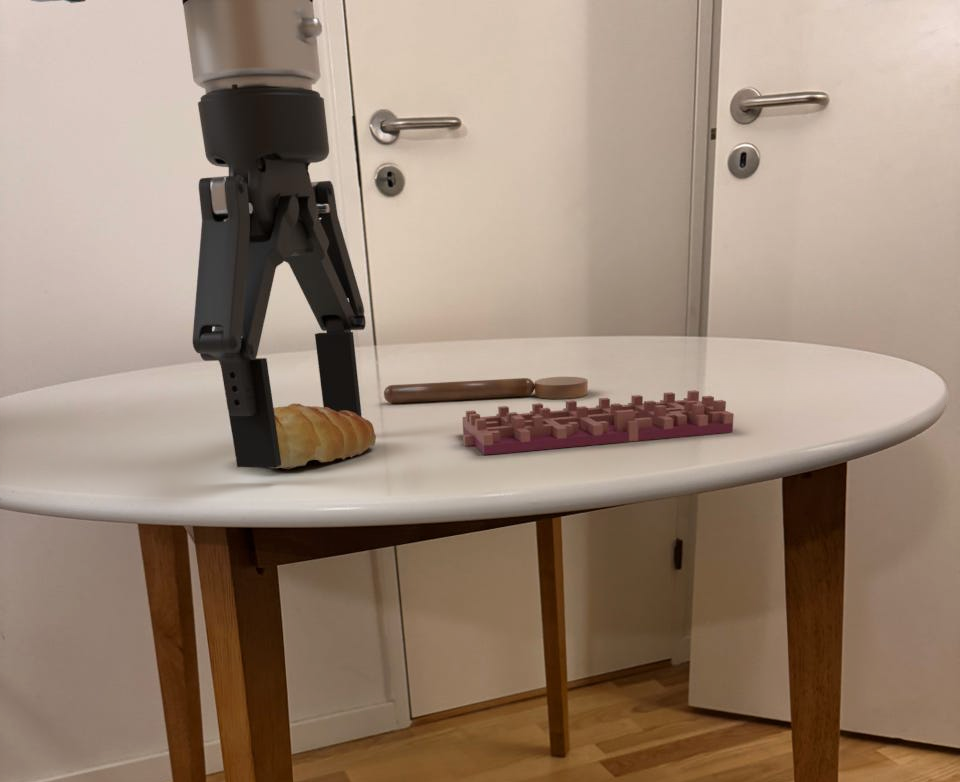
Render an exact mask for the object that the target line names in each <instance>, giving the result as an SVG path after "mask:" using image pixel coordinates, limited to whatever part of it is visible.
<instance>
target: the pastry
mask: <svg viewBox="0 0 960 782" xmlns="http://www.w3.org/2000/svg"><path fill="white" fill-rule="evenodd" d="M273 408H274V415H275V422H276V429H277V436H278V443H279V451H280V458H281V465H280V466H278V467H276V468H275V469H279V468H281V469H285V470H291V469H294V468H296V467H305V466H306V465H307V463H308V462H310V461H314V460H316V461H319V463H328V462H333V461H335V460H336V459H342V460H343V461H344V460H345V459H346V458H348V457H350V458H353V457H354V456H359V455H361V454H362V453H364V452H365V451H367V450H368V449H369V448H370V447H372V446H375V445H376V438H377V437H376V436H377V435H376V433H375V429H374V425H373V423H372V422H371V421H370V420H369V419H366V418H365V417H363V416H362V417H360V416H358V415H357V414H356V413H354V412H351V411H339V412H336V411H334V410H331V409H330V408H328V407H323V406H322V407H321V406H317V405H313V406H310V405H307V406H306V405H303V404H301V403H291V404H288V405H287V406H278V407H273Z"/></svg>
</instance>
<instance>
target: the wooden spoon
mask: <svg viewBox="0 0 960 782" xmlns="http://www.w3.org/2000/svg"><path fill="white" fill-rule="evenodd" d="M532 394H534V396H535V397H536V398H540V399H547V400H548V399H549V400H566V399H568V400H569V399H577V398H581V397H585V396H587V395H588V394H589V381H588V379H587V378H585V377H578V376H552V377H543V378H538V379H536V380H535V381H533V380H532V379H531V378H529V377H520V378H517V377H516V378H500V379H499V378H497V379H481V380H480V379H478V380H462V381H459V380H458V381H442V382H422V383H421V382H420V383H406V384H405V383H404V384H403V383H402V384H390V385H388V386H386V387H385V388H384V391H383V397H384V400H385V401H386V402H387V403H389V404H407V403H408V404H409V403H426V402H444V401H445V402H446V401H461V400H462V401H464V400H466V401H467V400H481V399H482V400H483V399H486V400H487V399H504V398H521V397H522V398H524V397H529V396H531V395H532Z"/></svg>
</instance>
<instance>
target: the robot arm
mask: <svg viewBox="0 0 960 782" xmlns="http://www.w3.org/2000/svg"><path fill="white" fill-rule="evenodd" d="M30 1H32V2H38V3H47V2H57V1H61V0H30ZM64 1H65V2H69V3H70V4H75V3H76V4H77V3H84V2H86V1H87V0H64ZM181 3H182V6H183V14H184V21H185V27H186V35H187V42H188V51H189V56H190V66H191V72H192V79H193V82H194V83H195V84H196V86H199V87H201V88H202V89H204V91H205V94H203V95H202V96H201V97H200V101H198V102H197V107H198V115H199V120H200V121H199V122H200V127H201V135H202V141H203V146H204V153H205V158H206V160H207V161H208V162H209V163H210V164H211V165H213V166H215V167H220V168H228V175H226V176H225V175H223V176H212V177H203V178H202V177H201V178H200V179H199V181H198V196H199V205H200V214H201V228H200V241H199V253H198V267H197V279H196V290H195V291H196V292H195V304H194V317H193V326H192V347H193V349H194V352H196V353H197V354H200V358H201V359H202V360H203V361H204V362H216V361H218V363H219V365H220V369H221V375H222V382H223V387H224V395H225V398H226V399H225V401H226V407H227V411H228V417H229V423H230V429H231V434H232V435H231V437H232V443H233V449H234V454H235V461H236V467H237V468H266V469H267V468H269V469H277V468H276V467H278V466H280V465H281V458H280V451H279V443H278V436H277V429H276V422H275V415H274V408H275V407H274V402H273V395H272V394H273V393H272V389H271V381H270V373H269V367H268V366H269V365H268V360H267V357H260V358H259V357H258V352H259V349H260V348H259V347H260V343H261V339H262V334H263V329H264V325H265V321H266V315H267V310H268V307H269V302H270V297H271V292H272V288H273V284H274V278H275V274H276V269H277V267H278V266H280V265H282V264H283V263H284V262H285V263H287V264H288V265H289V267H290V270H291V272H292V273H293V276H294V277H295V279H296V281H297V283H298V286H299V288H300V289H301V291H302V294H303V295H304V298H305V300H306V301H307V304H308V306H309V307H310V310H311V311H312V313H313V314H312V315H314V318H315V319H316V321H317V324H318V326H319V328H320V330H322V332H317V333H314V339H315V346H316V347H315V348H316V356H317V365H318V373H319V381H320V389H321V398H322V405H323V406H322V407H328V408H330V409H331V410H334V411H336V412H339V411H351V412H354V413H356V414H357V415H358V416H360V417H363V416H362V406H361V395H360V387H359V377H358V368H357V357H356V348H355V347H356V346H355V338H354V332H353V331H364V330H365V328H366V316H365V307H364V303H363V299H362V296H361V292H360V289H359V286H358V285H359V284H358V282H357V279H356V275H355V272H354V268H353V264H352V260H351V257H350V254H349V251H348V247H347V243H346V240H345V236H344V233H343V230H342V226H341V223H340V219H339V215H338V208H337V202H336V201H337V200H336V195H335V188H334V185H333V183H332V181H331V180H322V181H312V180H311V175H310V172H309V166H310V165H311V164H315V163H320V162H323V161H325V160H326V159H327V158H328V157H329V154H330V145H329V133H328V125H327V117H326V116H327V115H326V106H325V98H324V97H322V96H321V93H319V92H318V91H316V90H314V89H313V87H312V85H313V86H314V85H316V84H317V82H318V81H319V80H320V79H321V77H322V76H321V67H320V66H321V65H320V59H319V58H320V57H319V48H318V39H317V38H318V37H319V36H321V34H322V33H323V25H322V23H321V21H320V19H319V18H318V17H315V10H314V0H181ZM213 327H214V328H213ZM257 357H258V358H257Z"/></svg>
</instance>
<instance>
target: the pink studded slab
mask: <svg viewBox="0 0 960 782" xmlns="http://www.w3.org/2000/svg"><path fill="white" fill-rule="evenodd" d="M686 395H687V397H684V398H683V399H679V400H677V399H676V393H675V392H671V391H670V392H663V399H662V400H659V401H655V400H643V398H644V397H643V395H641V394H635V395H631V397H630V399H631V400H630V402H627V404H621V403H611V399H610V398H608V397H600V398H598V405H595V407H588V406H585V405H584V406H578V405H577V403H578V402H577V401H576V400H565V407H564V408H562V409H561V410H551V408H549V407H544V403H541V402H540V403H532V404H531V411H529V412H525V413H518V412H516V411H512V412H510V407H509V406H507V405H502V406H498V407H497V412H498V413H496V414H495V415H490V416H489V415H488V416H481V414H479V413H477V411H476V410H465V416H462V417H461V418H462V442H463V443H462V444H463V445H464V446H465V447H470V446H474V447H475V448H476V449H478V451H479V452H481V454H483V455H484V456H489V455H498V454H510V453H520V452H521V453H522V452H530V451H542V450H552V449H565V448H573V447H574V448H575V447H585V446H594V445H595V446H596V445H607V444H617V443H628V442H629V443H630V442H641V441H651V440H652V441H653V440H661V439H663V440H664V439H671V438H673V439H674V438H683V437H694V436H695V437H696V436H706V435H715V434H726V433H727V434H728V433H733V429H734V417H735V416H734V413H733V412H731V411H728V410H726V407H727V401H726V400H723V399H718V400H717V399H716V400H715V397H714V396H712V395H702V396H701V400H700V391H698V390H687V394H686Z"/></svg>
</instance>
